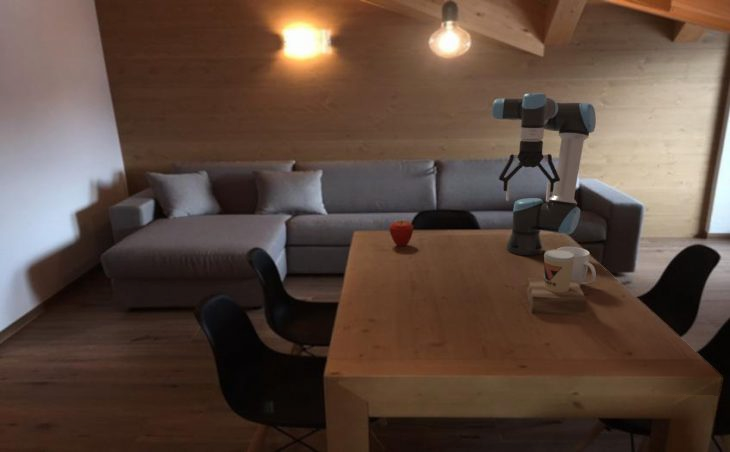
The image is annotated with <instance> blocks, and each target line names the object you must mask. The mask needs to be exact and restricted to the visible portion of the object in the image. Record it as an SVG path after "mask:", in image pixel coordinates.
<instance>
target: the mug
mask: <svg viewBox="0 0 730 452" xmlns="http://www.w3.org/2000/svg"><path fill="white" fill-rule="evenodd" d="M556 250H564V251H568V252H571V253H573V254H574V257H575V259H574V263H573V269H572V275H571V280H575V281H577V283H578V284H579V286H580V287H581V285H591V284H592V283H593V282H595V280H596V276H597V273H596V267H595V266H594V265H593V264H592V263H590V251H588V250H587V249H584V248H581V247H577V246H561V247H558V248H557V249H556ZM589 269H590V271H591V279H590V280H589V281H585V279H586V276H587V275H588V270H589Z"/></svg>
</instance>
